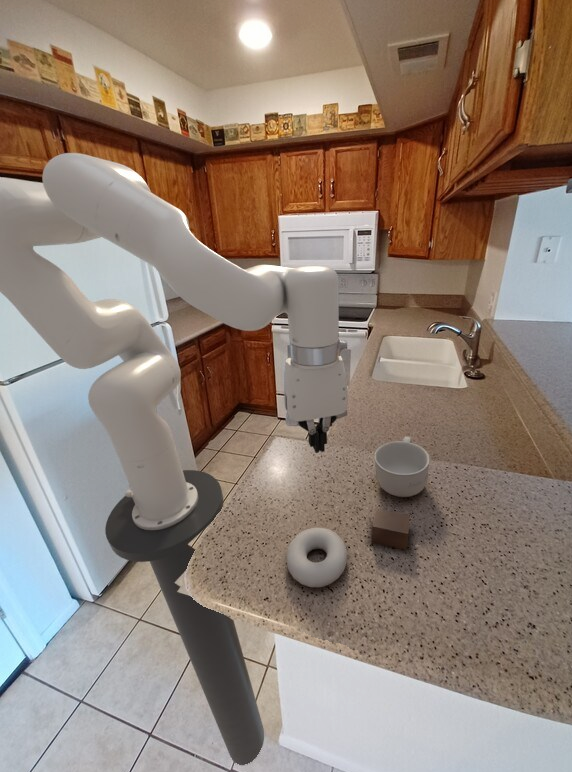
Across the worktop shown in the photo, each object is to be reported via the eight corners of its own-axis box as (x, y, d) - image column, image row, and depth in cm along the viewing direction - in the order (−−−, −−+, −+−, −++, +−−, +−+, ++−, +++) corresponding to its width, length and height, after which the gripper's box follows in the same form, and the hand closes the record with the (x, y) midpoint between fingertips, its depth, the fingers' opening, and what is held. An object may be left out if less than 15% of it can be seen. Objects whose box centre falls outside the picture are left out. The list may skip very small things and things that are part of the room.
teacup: (415, 513, 62) (419, 481, 59) (364, 492, 68) (365, 461, 64) (436, 471, 73) (440, 441, 69) (391, 455, 78) (392, 427, 75)
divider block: (371, 542, 57) (372, 526, 55) (375, 524, 60) (375, 508, 59) (406, 550, 55) (408, 533, 54) (408, 531, 59) (409, 515, 57)
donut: (356, 550, 56) (306, 528, 60) (357, 536, 54) (305, 514, 59) (330, 604, 48) (274, 575, 52) (330, 590, 46) (272, 560, 51)
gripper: (351, 339, 56) (349, 429, 64) (263, 349, 52) (273, 443, 60) (368, 353, 49) (364, 452, 57) (269, 366, 46) (280, 469, 54)
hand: (318, 447), depth 59 cm, fingers closed
